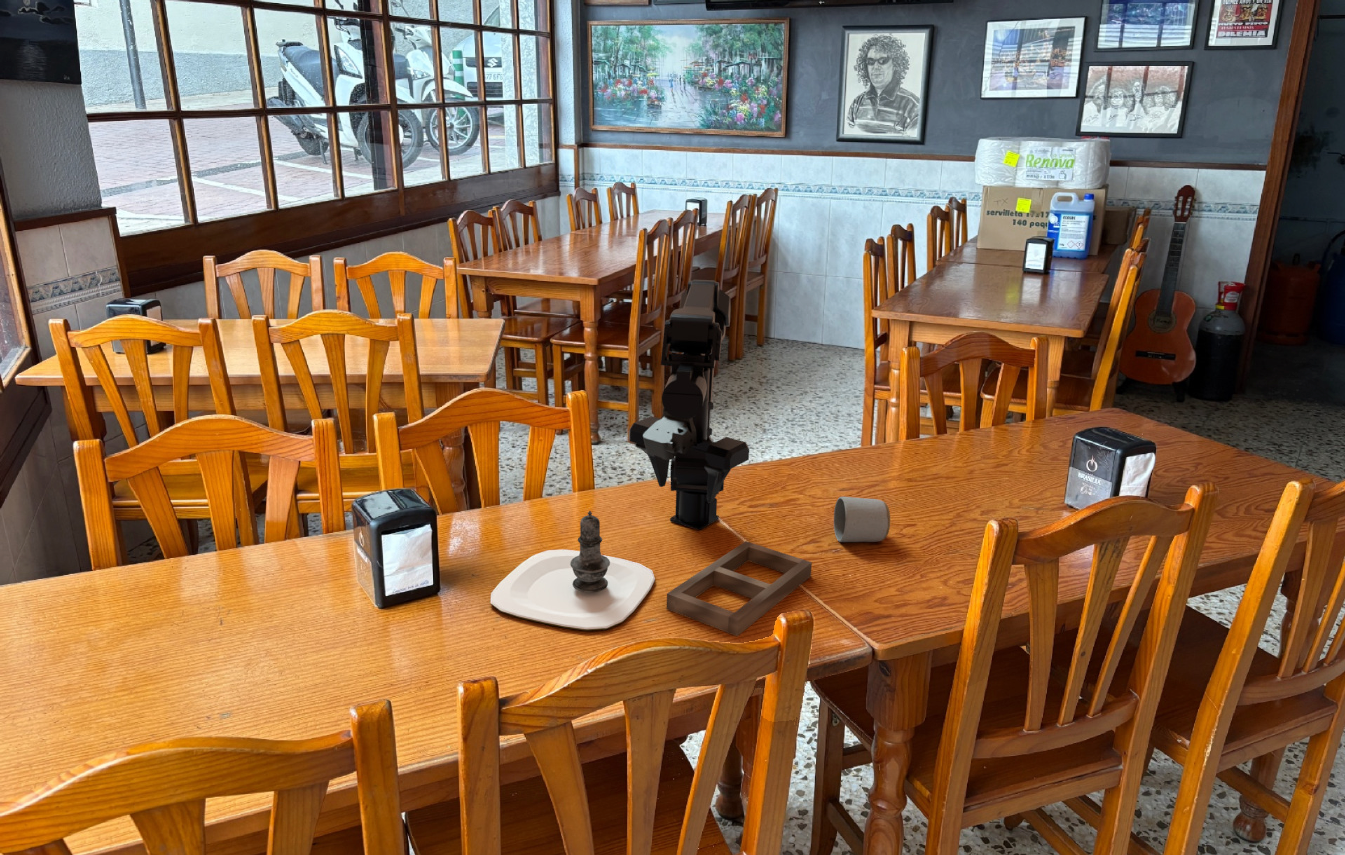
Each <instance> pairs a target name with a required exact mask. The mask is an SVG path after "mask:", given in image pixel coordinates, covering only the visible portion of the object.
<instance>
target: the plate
mask: <svg viewBox="0 0 1345 855" xmlns="http://www.w3.org/2000/svg"><path fill="white" fill-rule="evenodd" d="M579 554H580V550H572V549H566V548H565V549H549V550H548V549H547V550H544V551H541V552H539V553H536V554H533V555H532V556H530V557H528V559H527V558H526V560H524V561H522V562H521V563H520V564H519V565H518V566H516V567H515V569H513V570H512V571H511V572H510V573H509V574H507V575H506V577H504V578H503V579H502V580H501V581H500V582H499V583H498V584H497V586H496V587H495V588H494V589H493V590H492V591H491V593H490V605H491V606H493V607H494V608H495V609H496V610H498V611H499V612H501V613H503V614H506V615H510V616H512V617H515V618H519V619H523V620H526V621H532V622H536V623H541V624H545V625H550V626H553V627H560V628H564V629H569V630H570V629H572V630H578V631H585V632H586V631H601V630H603V631H604V630H608V629H611V628H613V627H615V626H617V625H619V624H621V623H624V621H625V620H626V619H628V618H629V617H630V616H631V615H632V614H633V613H634V612H635V611H636V610H637V608H638V607H639V606H640V604H641V603H642V602H643V601H644V599H645V598H646V596H647V595H648V594H649V593H650V591H651V589H652V587H653V585H654V583H655V581H656V578H655V575H654V572H653V570H652V569H651V568H648V567H646V566H645V565H643V564H641V563H639V562H636V561H635V562H634V561H631V560H627V559H624V558H620V557H616V556H615V557H614V556H608V555H604V554H602V555H603V556H605V557H607V558H608V559H609V561H610V565H609V567H608V570H607V572H606V574H605V576H604V578H605V579H606V580H607V581H608V586H607V587H606V588H605V589H604V590H602V591H599V592H594V593H585V592H581V591H578V590H576V589H575V588H574V587H573V581H574V580H575V579H576V578H577V577H576V576H575V574H574V572H573V568H572V567H571V565H570V563H571V560H572V559H573V558H575V557H576V556H579Z"/></svg>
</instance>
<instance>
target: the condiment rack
mask: <svg viewBox="0 0 1345 855" xmlns="http://www.w3.org/2000/svg"><path fill="white" fill-rule="evenodd" d="M747 562H750V563H754V564H755V565H756V564H757V565H760V566H762V567H766V568H768V569H772V570H775V571H777V572H780V573H783V574H782V575H780V577H778V578H777V579H776V580H775V581H774V582H772V583H768V582H766V581H762V580H759V579H756V578H753V577H751V576H747V575H744V574H741V573H738V572H735V570H737V569H738V568H740V567H742V566H743V565H745V563H747ZM812 564H813V562H811V561H810V560H805V559H803V558H800V557H797V556H793V555H791V554H787V553H784V552H781V551H778V550H774V549H772V548H768V547H765V546H764V545H760V544H757V543H753V542H750V541H743V542H742V543H741V544H739V545H737V546H736V547H735V548H733V549H732V550H730V551H728V552H727V553H726V554H724V555H723V556H721V557H720V558H718V559H716V560H715V561H714V562H712V563H711V564H709V565H708V566H706V567H705V568H703V569H702V570H700V571H698V572H697V573H695V574H694V575H693V576H691V577H690V578H688V579H686V580H685V581H683V582H682V583H681V584H679V585H677V586H676V587H674V588H673V589H671V590H670V591H669V592H667V593H666V608H665V609H666V610H668V611H671V612H674V613H676V614H678V615H681V616H684V617H686V618H689V619H692V620H694V621H696V620H697V622H700V623H702V624H704V623H705V625H707V626H709V625H710V626H709V627H712V626H713V627H712V628H714V627H715V628H714V629H717V628H718V629H717V630H721V631H723V632H725V633H728V634H730V635H733V636H735V637H738V636H739V635H741V634H742V633H744V632H745V630H747V629H748V628H749V627H751V626H752V625H753V624H755V622H756V621H758V620H759V619H761V617H763V616H764V615H765V614H767V612H768V613H769V611H770V610H771V609H773V608H774V607H775V606H777V604H778V603H780V602H781V601H782V600H784V599H785V598H786V597H788V596H789V595H790V594H791V593H792V592H794V591H795V590H796V589H798V588H799V587H800V586H801V585H803V583H805V582H806V581H807V580H808V579H810V578H811V575H812ZM713 586H714V587H718V588H720V589H724V590H726V591H730V592H732V593H735V594H738V595H740V596H742V597H746V598H749V599H750V600H749V601H746V603H745V604H744V605H742V606H740V607H739V608H738V609H737V610H736V611H731V610H729V609H727V608H723V607H721V606H718V605H717V604H716V605H715V604H713V603H710V602H707V601H705V600H702V599H700V598H698V597H699V596H700V595H702V594H703V593H705V592H706V591H707V590H709V589H710V588H711V587H713Z"/></svg>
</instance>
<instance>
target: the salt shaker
mask: <svg viewBox="0 0 1345 855" xmlns="http://www.w3.org/2000/svg"><path fill="white" fill-rule="evenodd" d="M579 523H580V524H579V525H580V526H579V527H580V529H579V530H580V532H579V533H580V534H579V535H580V536H579V537H578V539H577V541H578V543H579V551H580V554H579V556H576V557H575V558H573V559H572V560H571V563H570V565H571V567H572V568H573V572H574V574H575V576H576V577H577V578H576V579H575V580H574V581H573V587H574V588H575V589H576V590H578V591H581V592H585V593H594V592H599V591H602V590H604V589H605V588H606V587H607V586H608V581H607V580H606V579H605V578H604V576H605V574H606V572H607V570H608V567H609V565H610V561H609V559H608V558H607V557H605V556H606V555H605V556H603V555H604V554H602V553H601V543H602V542H603V537H601V536H600V535H601V534H600V533H601V532H600V530H601V529H600V528H601V527H600V525H601V524H600V519H599V518H598V517H597V516H595V515H593V512H592V511H591V510H589V511H588V512H587V515H585V516H583V517H582V518H581V519H580V522H579Z"/></svg>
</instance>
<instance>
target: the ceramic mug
mask: <svg viewBox="0 0 1345 855" xmlns="http://www.w3.org/2000/svg"><path fill="white" fill-rule="evenodd" d="M890 528H891V513H890V508H889V506H888V503H887V502H885V501H883V500H881V499H877V498H876V499H875V498H865V497H863V498H862V497H854V496H853V497H852V496H839V497H838V498H837V500H836V502H835V505H834V509H833V531H834V532H833V533H834V535H835V538H836V540H837V542H838V543H864V542H865V543H875V542H876V543H877V542H882V541H884V540H886V539H887V537H888V536H889V533H890Z"/></svg>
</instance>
